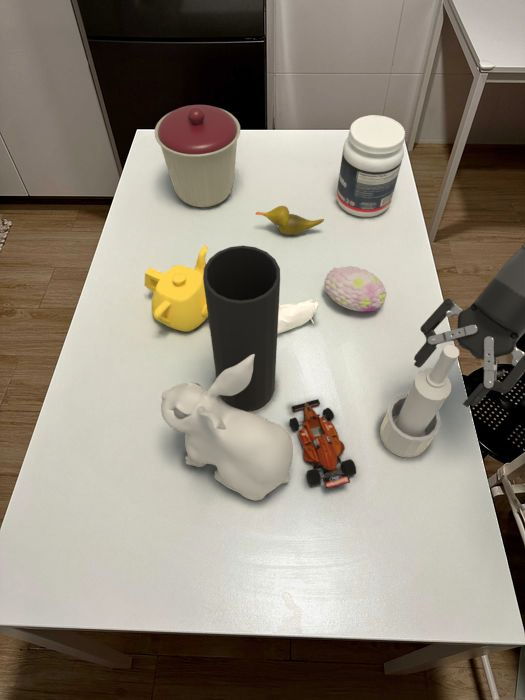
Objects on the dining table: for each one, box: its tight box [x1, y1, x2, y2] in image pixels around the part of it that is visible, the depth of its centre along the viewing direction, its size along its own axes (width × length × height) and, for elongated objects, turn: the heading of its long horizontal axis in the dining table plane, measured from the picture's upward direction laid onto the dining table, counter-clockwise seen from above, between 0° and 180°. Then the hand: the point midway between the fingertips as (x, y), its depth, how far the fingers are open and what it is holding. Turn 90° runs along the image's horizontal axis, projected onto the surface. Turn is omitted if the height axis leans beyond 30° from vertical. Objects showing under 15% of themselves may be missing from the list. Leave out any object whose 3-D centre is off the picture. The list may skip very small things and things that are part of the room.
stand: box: [379, 393, 442, 458], centre depth 85 cm, size 8×8×7 cm
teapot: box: [144, 245, 209, 332], centre depth 98 cm, size 14×13×10 cm
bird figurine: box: [277, 298, 319, 335], centre depth 98 cm, size 5×7×10 cm
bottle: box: [394, 344, 460, 437], centre depth 77 cm, size 5×5×25 cm
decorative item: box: [323, 265, 387, 313], centre depth 101 cm, size 9×11×10 cm
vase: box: [203, 245, 281, 412], centre depth 80 cm, size 10×10×30 cm
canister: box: [154, 104, 241, 208], centre depth 114 cm, size 18×18×21 cm
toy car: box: [289, 398, 357, 490], centre depth 85 cm, size 8×16×4 cm, turn 15°
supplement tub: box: [335, 114, 406, 218], centre depth 113 cm, size 13×13×18 cm
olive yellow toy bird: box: [255, 205, 325, 236], centre depth 112 cm, size 4×15×6 cm, turn 86°
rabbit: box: [160, 354, 294, 501], centre depth 75 cm, size 12×21×25 cm, turn 67°
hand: (440, 385), depth 73 cm, fingers open, 8 cm apart
